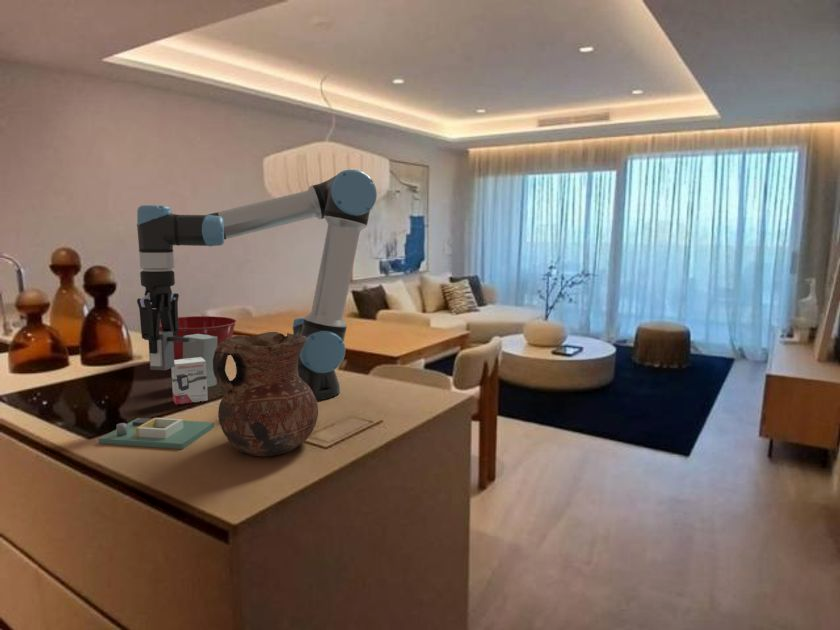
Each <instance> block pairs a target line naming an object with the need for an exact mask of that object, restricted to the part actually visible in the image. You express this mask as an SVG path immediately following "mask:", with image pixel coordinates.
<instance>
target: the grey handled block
mask: <svg viewBox="0 0 840 630" xmlns="http://www.w3.org/2000/svg"><path fill="white" fill-rule="evenodd" d="M158 340H161V345H162V364H163V366H151V364H150V363H149V369H150V371H151V370H153V371H167V370H169V369H170V370H171V368H172V367H175V365H174V344H173V342H189V341H190V339H189V338H188V337H173V332H171V331H159V339H158ZM148 355H149V356H148V357H149V358H150V352H149V351H148Z"/></svg>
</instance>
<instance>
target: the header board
mask: <svg viewBox="0 0 840 630" xmlns="http://www.w3.org/2000/svg"><path fill="white" fill-rule="evenodd" d="M214 428H215V422H214V421H213V422H211V421H199V420H196V421H193V420H184V419H181V418H167V417H166V418H165V417H164V418H163V417H154V418H148V417H147V418H146V417H145V418H144V417H137V418H135V419H134V420H131V421H130V422H128V423H126V422H121V423H117V424H116V429H114V430H112V431H110V432H108V433H107V434H105V435H102V436H100V437H99V438H98V444H100V445H113V446H116V445H117V446H130V447H144V448H145V447H146V448H159V449H160V448H162V449H177V450H184V449H186V448H187V447H188V446H189V445H191V444H192V443H193V442H195V441H197V440H198V439H199V438H201V437H202V436H204V435H205V434H206V433H208V432H209V431H211V430H212V429H214Z"/></svg>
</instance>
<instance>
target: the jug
mask: <svg viewBox="0 0 840 630" xmlns="http://www.w3.org/2000/svg"><path fill="white" fill-rule="evenodd" d="M306 341H307V339H306V337H305V336H303V335H293V333H289V332H287V334H286V335H285V334H283V333H281V332H277V331H267V332H262V333H259V334H256V335H250V336H248V335H241V334H240V335H239V334H237V335H232V337H229V338H226V339H225V340H223V341H222V342H220V343H219V344H218V346H217V348H216V350H215V352H214V353H215V354H214V357H213V372H214V375H215V378H216V380H217V383H218V385H219V387H220V389H221V390H222V392H223V394H224V395H223V397H222V398H221V401H220V402H219V405H218V412H217V416H218V417H217V418H218V422H219V425H220V426H219V427H220V428H221V430H222V433H223V434H224V436H225V437H226V439H227V440H228V441H229V443H230V444H231V445H233V446H234V448H236V449H237V450H238V451H239V452H240V453H242V454H246V455H249V456H255V457H273V456H275V455H276V456H280V454H281V455H284V453H285V454H287V452H288V453H289V452H291V451H293V450H295V449H296V448H298V447H299V446H302V444H303V443H305V442H306V441H307V440H308V439H309V437H310V436H311V435H312V433H313V431H314V430H315V429H314V428H315V427H316V425H317V420H318V418H319V406H318V401H317V400H316V398H315V396H314V394H313V392H312V390H311V388H310V387H309V386H308V385H307V384H306V383H305V382H304V381H303V380H302V379H301V378H300V377H299V374H298V359H299V355H300V353H301V350H302V348H303V346H304V344H305V342H306ZM229 356H231V358H232V359H233V362H234V363H235V370H236V373H235V377H234V378H233V379H232V380H230V379H229V376H228V375H227V372H226V364H227V361H228V357H229Z"/></svg>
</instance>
